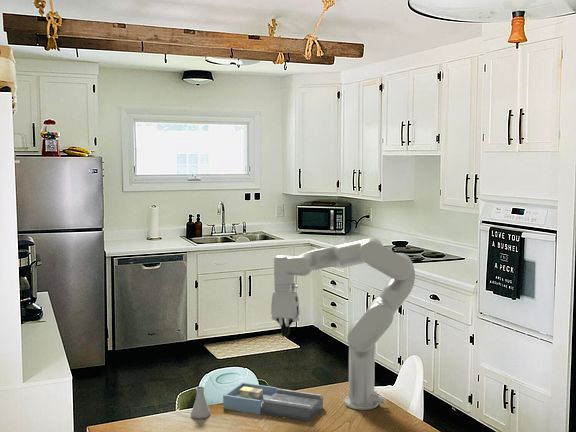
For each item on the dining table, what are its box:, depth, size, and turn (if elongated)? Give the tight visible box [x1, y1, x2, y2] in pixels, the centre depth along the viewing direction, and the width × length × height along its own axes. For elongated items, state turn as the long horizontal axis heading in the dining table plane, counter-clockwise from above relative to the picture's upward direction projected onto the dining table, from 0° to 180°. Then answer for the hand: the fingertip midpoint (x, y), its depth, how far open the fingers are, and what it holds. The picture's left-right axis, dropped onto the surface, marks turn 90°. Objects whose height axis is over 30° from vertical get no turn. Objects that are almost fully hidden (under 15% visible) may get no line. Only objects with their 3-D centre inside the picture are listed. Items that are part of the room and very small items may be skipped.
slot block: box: [262, 387, 324, 423], centre depth 221 cm, size 18×14×5 cm
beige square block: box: [249, 388, 263, 400], centre depth 227 cm, size 4×4×3 cm
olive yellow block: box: [239, 386, 253, 398], centre depth 229 cm, size 4×4×3 cm
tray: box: [222, 382, 278, 415], centre depth 228 cm, size 15×15×5 cm
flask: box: [190, 386, 211, 419], centre depth 217 cm, size 7×7×10 cm
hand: (285, 335), depth 231 cm, fingers closed
